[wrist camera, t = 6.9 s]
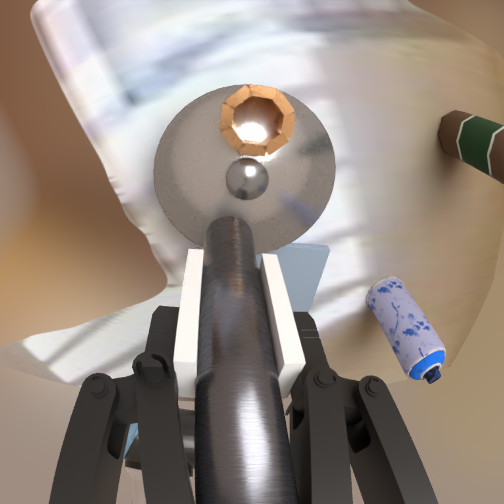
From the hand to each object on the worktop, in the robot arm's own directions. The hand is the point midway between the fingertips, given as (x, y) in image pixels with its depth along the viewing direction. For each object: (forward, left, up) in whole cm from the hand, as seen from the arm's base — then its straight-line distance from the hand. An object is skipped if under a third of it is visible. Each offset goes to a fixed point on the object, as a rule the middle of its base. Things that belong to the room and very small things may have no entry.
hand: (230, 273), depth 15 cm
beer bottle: (+12, -33, -22) cm, 41 cm away
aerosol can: (-19, -31, -22) cm, 42 cm away
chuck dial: (+1, -2, -16) cm, 16 cm away
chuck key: (0, 0, -4) cm, 4 cm away
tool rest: (-17, -10, -21) cm, 29 cm away
